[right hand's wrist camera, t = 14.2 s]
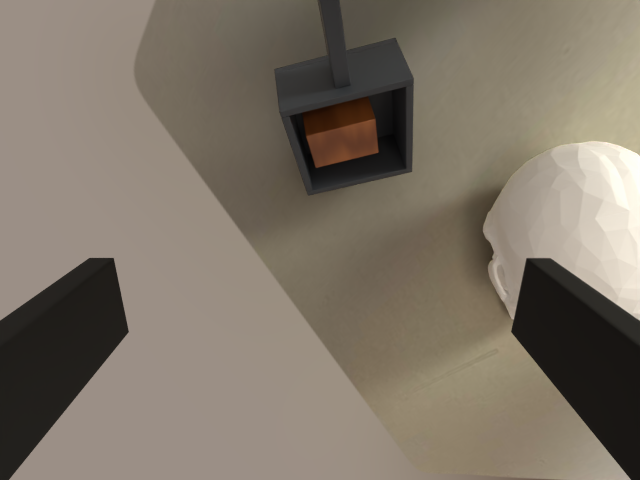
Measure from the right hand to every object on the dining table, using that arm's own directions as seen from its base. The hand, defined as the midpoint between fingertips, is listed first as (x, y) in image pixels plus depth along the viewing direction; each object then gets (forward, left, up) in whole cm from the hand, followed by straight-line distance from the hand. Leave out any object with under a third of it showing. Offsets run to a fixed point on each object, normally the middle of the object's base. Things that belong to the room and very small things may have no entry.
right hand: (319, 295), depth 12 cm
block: (-2, -1, -25) cm, 25 cm away
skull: (+9, +24, -31) cm, 40 cm away
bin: (-10, +1, -23) cm, 25 cm away
